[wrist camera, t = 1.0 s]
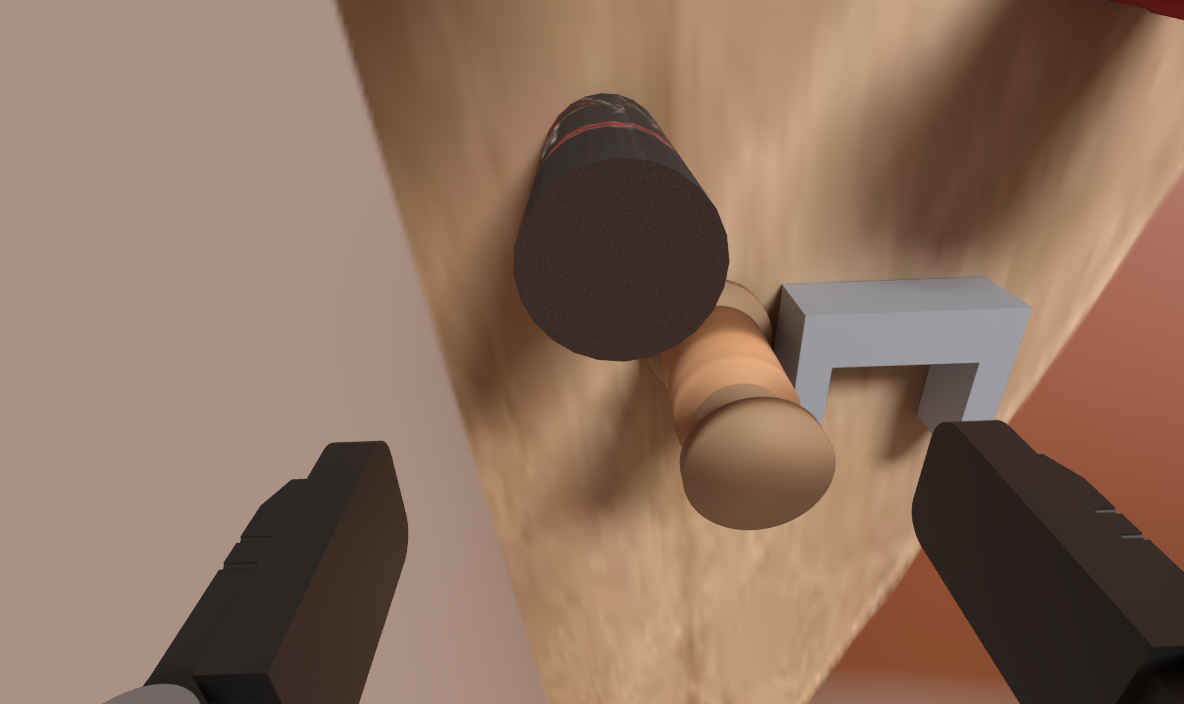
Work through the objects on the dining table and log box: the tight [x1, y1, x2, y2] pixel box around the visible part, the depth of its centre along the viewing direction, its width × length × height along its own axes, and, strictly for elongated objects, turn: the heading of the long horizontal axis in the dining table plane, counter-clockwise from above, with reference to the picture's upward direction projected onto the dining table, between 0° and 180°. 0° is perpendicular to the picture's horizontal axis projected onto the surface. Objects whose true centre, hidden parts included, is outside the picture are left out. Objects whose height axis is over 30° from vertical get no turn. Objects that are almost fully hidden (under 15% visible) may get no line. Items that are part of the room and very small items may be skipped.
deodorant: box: [514, 93, 729, 361], centre depth 24 cm, size 6×6×15 cm
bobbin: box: [647, 280, 836, 530], centre depth 30 cm, size 7×7×12 cm
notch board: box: [774, 277, 1032, 434], centre depth 34 cm, size 9×11×4 cm
